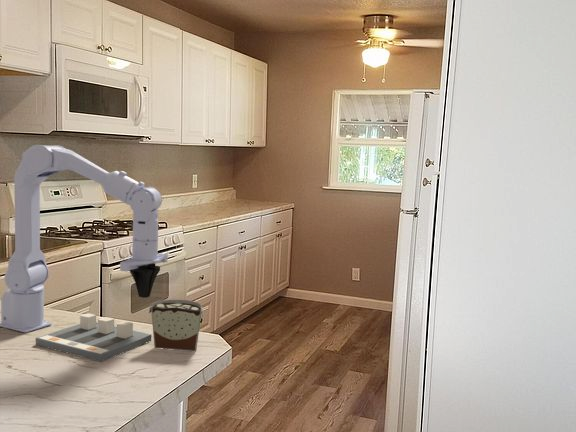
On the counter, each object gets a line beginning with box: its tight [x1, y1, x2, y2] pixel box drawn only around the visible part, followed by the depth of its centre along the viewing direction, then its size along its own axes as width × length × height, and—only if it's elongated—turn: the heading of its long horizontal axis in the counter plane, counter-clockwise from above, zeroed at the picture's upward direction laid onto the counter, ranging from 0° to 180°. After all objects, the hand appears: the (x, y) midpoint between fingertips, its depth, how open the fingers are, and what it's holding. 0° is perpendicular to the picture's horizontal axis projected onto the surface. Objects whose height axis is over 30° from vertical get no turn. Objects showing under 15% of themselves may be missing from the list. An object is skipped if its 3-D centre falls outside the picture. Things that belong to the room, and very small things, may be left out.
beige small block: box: [79, 312, 97, 330], centre depth 138 cm, size 2×2×3 cm
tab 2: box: [97, 316, 115, 334], centre depth 136 cm, size 2×2×3 cm
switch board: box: [35, 321, 153, 363], centre depth 133 cm, size 19×16×2 cm
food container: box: [148, 299, 205, 353], centre depth 134 cm, size 12×6×10 cm, turn 84°
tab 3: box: [116, 320, 134, 339], centre depth 134 cm, size 2×2×3 cm
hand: (144, 296), depth 139 cm, fingers closed
